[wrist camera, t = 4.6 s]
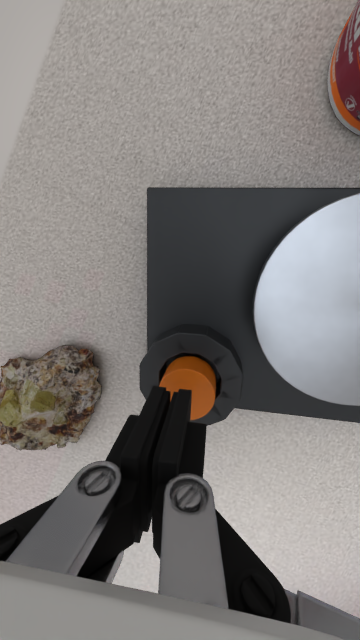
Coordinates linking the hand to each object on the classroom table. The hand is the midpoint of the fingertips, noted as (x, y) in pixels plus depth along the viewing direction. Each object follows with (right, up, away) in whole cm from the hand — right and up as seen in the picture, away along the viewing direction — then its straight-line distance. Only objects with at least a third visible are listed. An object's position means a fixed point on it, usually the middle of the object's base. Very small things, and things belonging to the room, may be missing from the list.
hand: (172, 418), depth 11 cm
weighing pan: (+9, +5, +1) cm, 10 cm away
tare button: (+1, +1, +4) cm, 4 cm away
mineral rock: (-10, -1, +10) cm, 14 cm away
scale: (+6, +5, +5) cm, 10 cm away
